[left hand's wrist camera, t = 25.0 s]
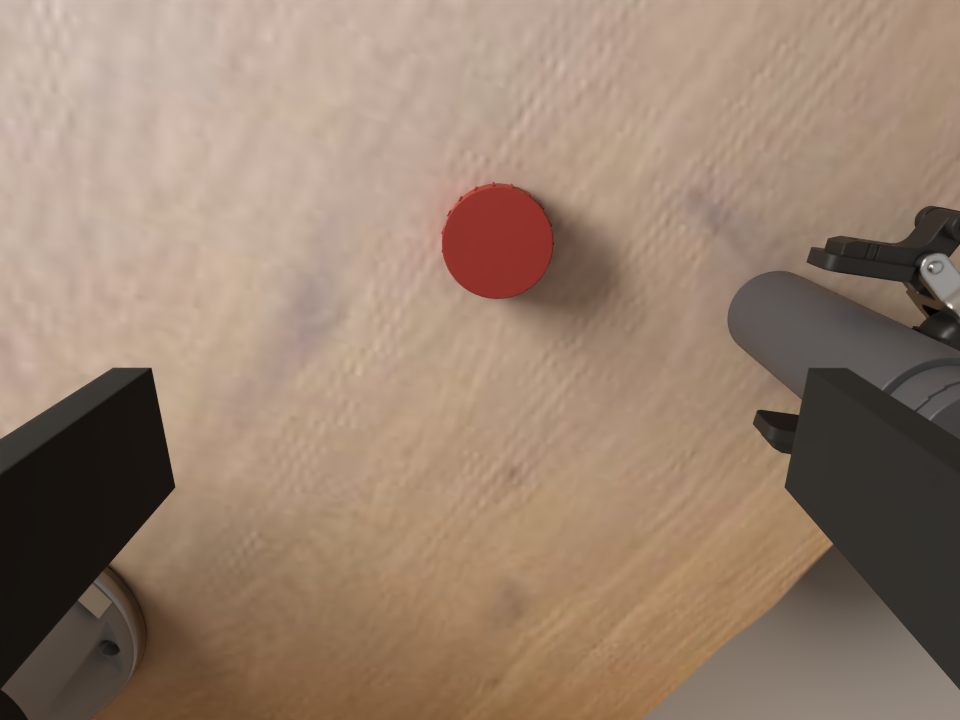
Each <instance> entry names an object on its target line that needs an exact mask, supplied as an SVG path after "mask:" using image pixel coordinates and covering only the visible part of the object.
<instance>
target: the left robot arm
mask: <svg viewBox="0 0 960 720" xmlns="http://www.w3.org/2000/svg"><path fill="white" fill-rule="evenodd" d="M174 488H175V483H174V478H173V473H172V468H171V463H170V458H169V453H168V448H167V443H166V438H165V433H164V428H163V423H162V418H161V413H160V408H159V403H158V398H157V393H156V388H155V383H154V378H153V373H152V368H112V369H110V370H109V371H107V372H106V373H104V374H103V375H101V376H99V377H98V378H96V379H95V380H93V381H92V382H90V383H88V384H87V385H85V386H84V387H82V388H81V389H79V390H77V391H76V392H74V393H73V394H71V395H69V396H68V397H66V398H65V399H63V400H62V401H60V402H58V403H57V404H55V405H54V406H52V407H51V408H49V409H47V410H46V411H44V412H43V413H41V414H40V415H38V416H36V417H35V418H33V419H32V420H30V421H28V422H27V423H25V424H24V425H22V426H21V427H19V428H17V429H16V430H14V431H13V432H11V433H10V434H8V435H6V436H5V437H3V438H2V439H0V720H90V719H91V718H92V717H94V716H95V715H96V714H97V713H98V712H100V711H101V710H102V709H103V708H104V707H106V706H107V705H108V704H109V703H110V702H111V701H112V700H113V699H114V698H115V697H116V696H117V695H118V694H119V693H120V692H121V691H122V689H123V688H124V687H125V685H126V684H127V682H128V681H129V679H130V678H131V676H132V675H133V673H134V672H135V670H136V669H137V667H138V666H139V664H140V662H141V660H142V657H143V654H144V650H145V645H146V629H145V624H144V619H143V616H142V613H141V611H140V608H139V606H138V604H137V602H136V600H135V598H134V597H133V595H132V594H131V592H130V591H129V589H128V588H127V587H126V585H125V584H124V583H123V582H122V581H121V579H120V578H119V577H118V576H117V575H116V574H115V573H114V572H113V571H112V570H110V569H109V568H108V567H107V566H108V565H109V563H110V562H111V561H112V560H113V559H114V558H115V557H116V555H117V554H118V553H119V552H120V551H121V550H122V548H123V547H124V546H125V545H126V544H127V543H128V541H129V540H130V539H131V538H132V537H133V536H134V535H135V533H136V532H137V531H138V530H139V529H140V528H141V526H142V525H143V524H144V523H145V522H146V521H147V520H148V518H149V517H150V516H151V515H152V514H153V513H154V511H155V510H156V509H157V508H158V507H159V506H160V504H161V503H162V502H163V501H164V500H165V499H166V498H167V496H168V495H169V494H170V493H171V492H172V491H173V489H174ZM785 488H786V489H787V491H788V492H789V493H790V494H791V495H792V496H793V498H794V499H795V500H796V501H797V502H798V503H799V504H800V506H801V507H802V508H803V509H804V510H805V511H806V513H807V514H808V515H809V516H810V517H811V518H812V520H813V521H814V522H815V523H816V524H817V525H818V526H819V528H820V529H821V530H822V531H823V532H824V533H825V535H826V536H827V537H828V538H829V539H830V540H831V541H832V543H833V544H834V545H835V546H836V547H837V548H838V550H839V551H840V552H841V553H842V554H843V555H844V556H845V558H846V559H847V560H848V561H849V562H850V563H851V565H852V566H853V567H854V568H855V569H856V570H857V571H858V573H859V574H860V575H861V576H862V577H863V578H864V580H865V581H866V582H867V583H868V584H869V585H870V587H871V588H872V589H873V590H874V591H875V592H876V594H877V595H878V596H879V597H880V598H881V599H882V600H883V602H884V603H885V604H886V605H887V606H888V607H889V609H890V610H891V611H892V612H893V613H894V614H895V615H896V617H897V618H898V619H899V620H900V621H901V622H902V624H903V625H904V626H905V627H906V628H907V629H908V630H909V632H910V633H911V634H912V635H913V636H914V637H915V639H916V640H917V641H918V642H919V643H920V644H921V646H922V647H923V648H924V649H925V650H926V651H927V652H928V654H929V655H930V656H931V657H932V658H933V659H934V661H935V662H936V663H937V664H938V665H939V666H940V667H941V669H942V670H943V671H944V672H945V673H946V674H947V675H948V677H949V678H950V679H951V680H952V681H953V683H954V684H955V685H956V686H957V687H958V688H959V689H960V439H958V438H957V437H955V436H954V435H952V434H950V433H949V432H947V431H946V430H944V429H943V428H941V427H939V426H938V425H936V424H935V423H933V422H932V421H930V420H928V419H927V418H925V417H924V416H922V415H920V414H919V413H917V412H916V411H914V410H913V409H911V408H909V407H908V406H906V405H905V404H903V403H902V402H900V401H898V400H897V399H895V398H894V397H892V396H891V395H889V394H887V393H886V392H884V391H883V390H881V389H879V388H878V387H876V386H875V385H873V384H872V383H870V382H868V381H867V380H865V379H864V378H862V377H861V376H859V375H857V374H856V373H854V372H853V371H851V370H850V369H848V368H808V373H807V378H806V383H805V388H804V393H803V398H802V403H801V408H800V413H799V418H798V423H797V428H796V433H795V438H794V443H793V448H792V453H791V458H790V463H789V468H788V473H787V478H786V483H785Z"/></svg>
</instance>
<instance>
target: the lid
mask: <svg viewBox="0 0 960 720" xmlns="http://www.w3.org/2000/svg"><path fill="white" fill-rule="evenodd" d="M543 210H544V208H543V207H542V205H541V204H540V205H539V204H538V203H537V201H536V200H535V199H534V198H533V197H532V196H531V195H530V193H529V192H528V191H527V193H526V192H525V191H523V190H521V189H519V188H517V187H514V186H513V184H511V185H507V184H495V182H493V184H488V185H484V186H481V187H478V188H477V186H476V187H475V189H474V190H472V191H470V192H469V193H467V194H466V195H464V196H463V197H462V196H461V197H460V199H459V201H458V202H457V204H456V205H455V206H454V208H453V209H452V211H451V210H450V211H449V213H448V215H447V216H448V219H447V221H446V224H445V227H444V229H443V231H442V234H443V236H442V253H443V256H444V260H445V263H446V265H447V267H448V270H449V271H450V273H451V274H452V276H453V277H454V278H455V280H456V281H457V282H458V283H459V284H460V285H461V286H463V287H464V288H465V289H467V290H468V291H470V292H472V293H474V294H476V295H479V296H482V297H486V298H493V299H502V298H509V297H512V296H516V295H518V294H520V293H523V292H524V291H526V290H528V289H529V288H531V287H532V286H533V285H534V284H535V283H536V282H537V281H538V280H539V279H540V278H541V277H542V275H543V274H544V272H545V271H546V269H547V267H548V265H549V263H550V260H551V256H552V251H553V245H554V242H553V234H552V229H551V227H552V225H551V223H550V222H549V220H548V218H547V216H546V214H545V213H544V211H543Z"/></svg>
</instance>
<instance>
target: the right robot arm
mask: <svg viewBox="0 0 960 720" xmlns="http://www.w3.org/2000/svg"><path fill="white" fill-rule="evenodd" d="M915 227H916V228H915V229H914V230H913V232H912V233H911V234H910V235H909V236H908V237H907V238H906V239H905V240H903V241H901V242H899V243H885V242H878V241H871V240H865V239H858V238H851V237H845V236H838V237H833V238H829V239H828V241H827V243H826V246H825V249H823V248H817V247H811V250H810V253H809V256H808V259H807V263H810V264H812V265H814V266H817V267H819V268H822V269H825V270H829V271H833V272H839V273H846V274H852V275H859V276H866V277H872V278H879V279H886V280H893V281H899V282H902V283H903V284H904V285H905V286H906V288H907V291H906V293H907V295H908V296H909V297H910V298H911V300H912V301H913V302H914V303H915V305H916V306H917V307H918V308H919V310H920V311H921V312H922V313H923V315H924V316H925V317H926V318H927V319H926V320H925V321H924V322H923V323H922V324H921V325H920V326H919V327H917V326H913V328H912V329H913V330H915V331H917V332H920V333H922V334H924V335H926V336H928V337H930V338H932V339H935V340H937V341H939V342H941V343H943V344H945V345H947V346H949V347H952V348H954V349H956V350H958V351H960V272H959V271H958V270H957V268H956V267H955V266H954V264H953V263H952V262H951V261H950V259H949V257H950V256H951V254H952V253H953V252H954V251H955V250H956V248H957V247H958V246H959V245H960V211H956V210H951V209H946V208H941V207H936V206H928V207H925V208H923V209H922V210H921V211H920V212H919V213H918V214H917V216H916V218H915ZM798 418H799V415H795V414H787V413H780V412H773V411H766V410H758V411H757V413H756V416H755V419H754V422H753V425H754V426H755V427H756V428H757V429H758V430H759V432H760V433H761V435H762V436H763V437H764V438H765V439H766V440H767V441H768V442H769V444H770V445H771V446H772V447H773V448H774V449H776V450H778V451H780V452H781V453H787V454H791V453H792V448H793V443H794V438H795V433H796V428H797V423H798Z"/></svg>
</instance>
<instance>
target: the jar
mask: <svg viewBox="0 0 960 720" xmlns="http://www.w3.org/2000/svg"><path fill="white" fill-rule="evenodd" d="M728 327H729V331H730V333H731V336H732V338H733V339H734V341H735V342H736V343H737V344H738V345H739V346H740V347H741V348H742V349H744V350H745V351H746V352H747V353H748V354H749V355H751V356H752V357H753V358H754V359H755V360H756V361H758V362H759V363H760V364H761V365H762V366H763V367H765V368H766V369H767V370H768V371H769V372H770V373H772V374H773V375H774V376H775V377H776V378H777V379H778V380H780V381H781V382H782V383H783V384H784V385H785V386H787V387H788V388H789V389H790V390H791V391H792V392H794V393H795V394H796V395H797V396H798V397H799V398H801V399H802V398H803V393H804V388H805V383H806V378H807V373H808V368H848V369H850V370H851V371H853V372H854V373H856V374H857V375H859V376H861V377H862V378H864V379H865V380H867V381H868V382H870V383H872V384H873V385H875V386H876V387H878V388H879V389H881V390H883V391H884V392H886V393H887V394H889V395H891V396H892V397H894V398H895V399H897V400H898V401H900V402H902V403H903V404H905V405H906V406H908V407H909V408H911V409H913V410H914V411H916V412H917V413H919V414H920V415H922V416H924V417H925V418H927V419H928V420H930V421H932V422H933V423H935V424H936V425H938V426H939V427H941V428H943V429H944V430H946V431H947V432H949V433H950V434H952V435H954V436H955V437H957V438H958V439H960V351H958V350H956V349H954V348H952V347H949V346H947V345H945V344H943V343H941V342H939V341H937V340H935V339H932V338H930V337H928V336H926V335H924V334H922V333H920V332H917V331H915V330H913V329H911V328H909V327H907V326H905V325H903V324H900V323H898V322H896V321H894V320H892V319H890V318H888V317H885V316H883V315H881V314H879V313H877V312H875V311H873V310H871V309H868V308H866V307H864V306H862V305H860V304H858V303H856V302H853V301H851V300H849V299H847V298H845V297H843V296H841V295H839V294H836V293H834V292H832V291H830V290H828V289H826V288H824V287H821V286H819V285H817V284H815V283H813V282H811V281H809V280H807V279H804V278H802V277H800V276H798V275H796V274H793V273H790V272H785V271H774V272H768V273H765V274H762V275H759V276H757V277H755V278H753V279H752V280H750V281H749V282H747V283H746V284H745V285H744V286H743V287H742V288H741V289H740V290H739V291H738V292H737V294H736V295H735V297H734V299H733V301H732V303H731V305H730V308H729V313H728Z"/></svg>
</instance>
